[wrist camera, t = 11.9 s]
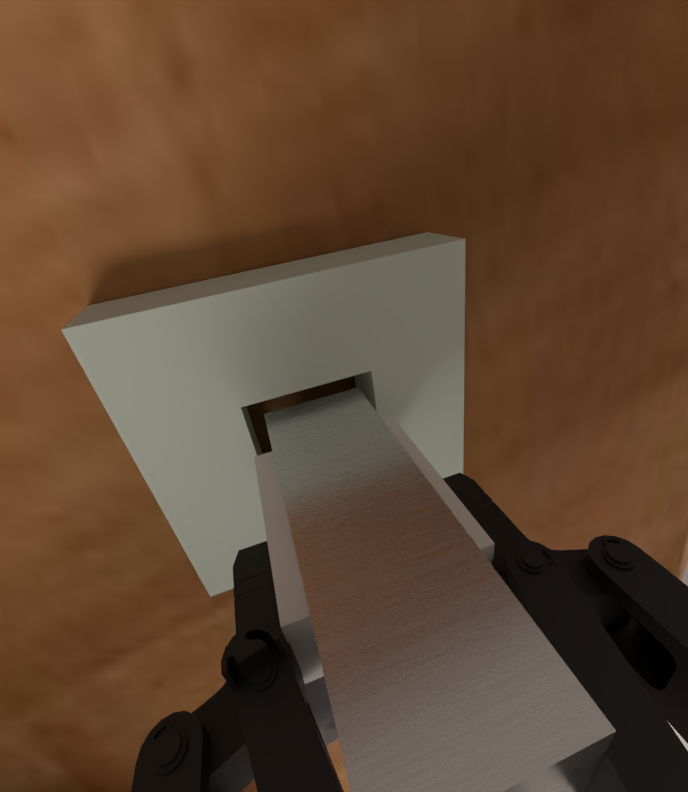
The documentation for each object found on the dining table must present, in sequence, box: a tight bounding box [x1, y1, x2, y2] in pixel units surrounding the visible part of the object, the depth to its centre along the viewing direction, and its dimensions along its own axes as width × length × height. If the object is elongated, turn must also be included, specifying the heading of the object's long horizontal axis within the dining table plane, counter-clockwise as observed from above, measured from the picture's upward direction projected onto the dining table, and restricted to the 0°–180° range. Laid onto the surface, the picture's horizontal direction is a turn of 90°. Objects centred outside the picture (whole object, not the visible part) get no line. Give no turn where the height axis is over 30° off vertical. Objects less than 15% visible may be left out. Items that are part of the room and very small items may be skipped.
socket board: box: [61, 232, 466, 597], centre depth 18 cm, size 14×14×3 cm
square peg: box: [264, 387, 616, 792], centre depth 11 cm, size 4×4×12 cm
